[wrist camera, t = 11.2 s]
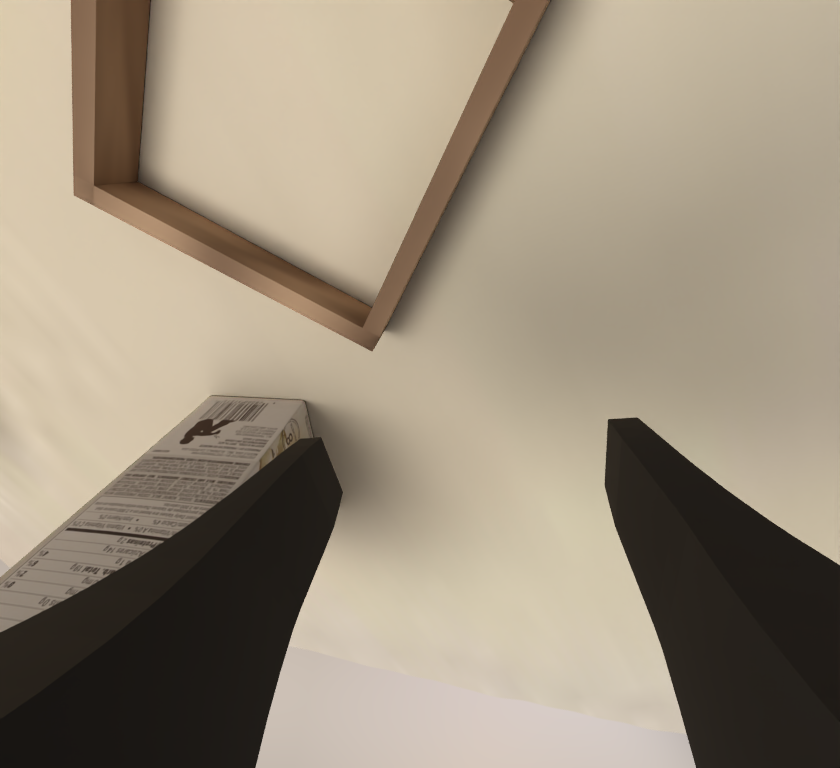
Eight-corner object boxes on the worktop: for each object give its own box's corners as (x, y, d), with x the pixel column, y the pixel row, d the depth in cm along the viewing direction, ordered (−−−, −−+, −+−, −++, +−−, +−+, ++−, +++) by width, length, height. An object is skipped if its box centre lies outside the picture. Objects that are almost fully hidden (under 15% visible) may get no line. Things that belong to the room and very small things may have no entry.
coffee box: (335, 510, 26) (168, 899, 13) (247, 502, 27) (6, 855, 14) (308, 396, 22) (-1, 819, 8) (204, 392, 23) (-227, 761, 9)
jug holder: (555, -11, 12) (567, -41, 10) (383, 331, 19) (372, 351, 17) (141, -298, 10) (65, -395, 9) (118, 190, 17) (73, 194, 15)
